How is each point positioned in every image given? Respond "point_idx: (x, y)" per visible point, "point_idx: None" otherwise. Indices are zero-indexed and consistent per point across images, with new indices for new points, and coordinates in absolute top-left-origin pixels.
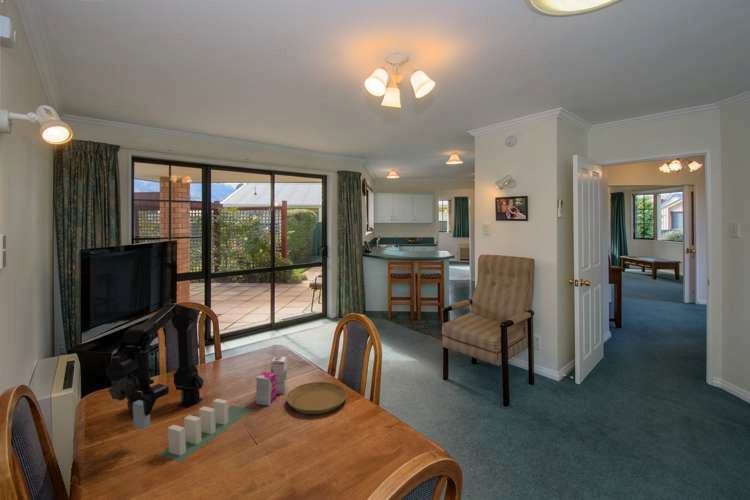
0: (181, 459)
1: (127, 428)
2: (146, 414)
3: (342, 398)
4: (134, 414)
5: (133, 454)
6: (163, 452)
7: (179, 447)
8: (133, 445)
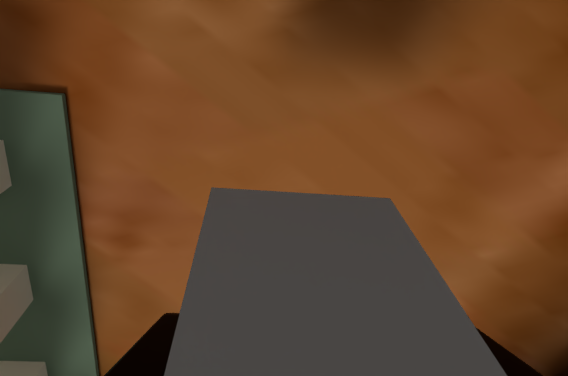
0: None
1: (564, 260)
2: (148, 333)
3: None
4: (421, 293)
5: (257, 47)
6: (38, 125)
7: None
8: (358, 132)
